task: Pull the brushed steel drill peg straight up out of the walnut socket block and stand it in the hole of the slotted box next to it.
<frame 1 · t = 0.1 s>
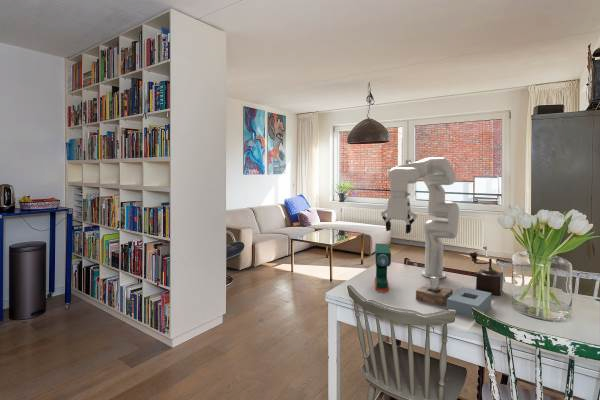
hand: (398, 231, 160), 31 cm above the table, tool pointing down, fingers open, 9 cm apart
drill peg: (434, 298, 157), point 1 cm above the table, touching socket block
slotted box: (469, 309, 147), on the table
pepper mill: (483, 290, 171), on the table
socket block: (434, 300, 157), on the table
power tool: (382, 289, 174), on the table
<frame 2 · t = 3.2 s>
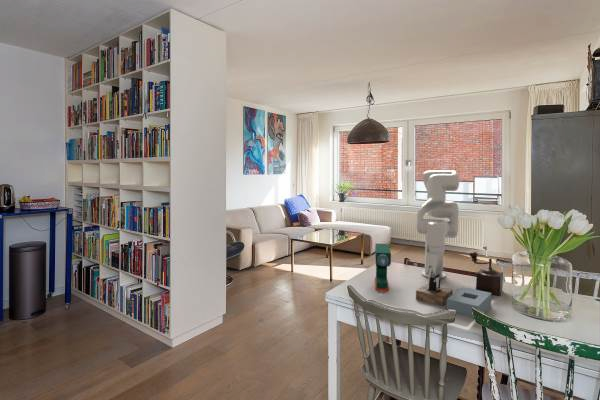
hand: (434, 288, 157), 6 cm above the table, tool pointing down, fingers closed on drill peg, 3 cm apart
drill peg: (434, 298, 157), point 1 cm above the table, touching gripper, socket block
everything else where it was.
when the fingers open (8 cm above the table, at t = 10.0 s): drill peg drops 2 cm, resting on slotted box.
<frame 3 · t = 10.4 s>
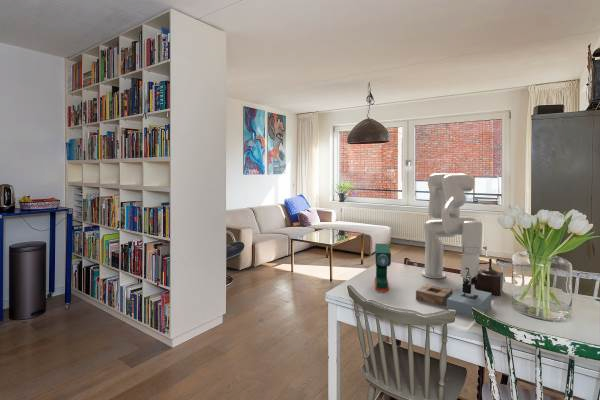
hand: (469, 290, 147), 8 cm above the table, tool pointing down, fingers open, 8 cm apart
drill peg: (469, 307, 147), point 1 cm above the table, touching slotted box
everything else where it was.
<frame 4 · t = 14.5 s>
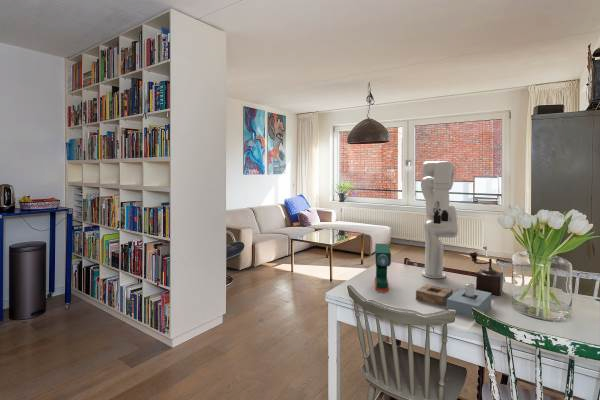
hand: (440, 222, 167), 34 cm above the table, tool pointing down, fingers open, 9 cm apart
nothing on the table moved.
at the end: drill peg 0.1 cm off-centre on the slotted box, point 1.0 cm above the slotted box's base; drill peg tilted 0°; the gripper is holding nothing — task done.
